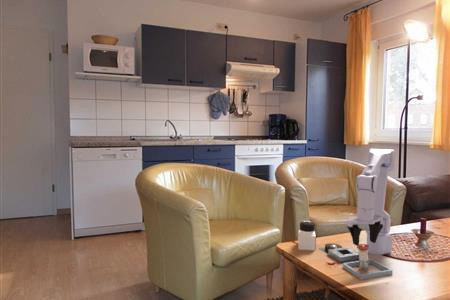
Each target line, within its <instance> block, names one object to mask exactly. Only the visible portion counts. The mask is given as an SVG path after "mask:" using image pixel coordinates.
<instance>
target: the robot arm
mask: <svg viewBox="0 0 450 300" xmlns="http://www.w3.org/2000/svg"><path fill="white" fill-rule="evenodd" d="M367 161H368V163H369V164H367V165H365V167H364V169H363V170H362V172H361V174H359V175H357V176H356V178H355V190H356V195H357V199H356V200H357V201H356V202H357V203H356V217H354V218H352V219H347V220H346V226H347V227H346V228H347V229H348V231H349V233H350V236H351V239H352V244H353V245H355V246H356V247H357V246H358V245H359V244H360V236H361V232H362V228H363V230H364V231H365V233H366V244H367V245H369V249H368V254H372V255H375V256H377V255H378V256H380V255H381V256H382V255H385V254H391V255H392V256H393V255H394V253H393V252H392V251H393V249H392V248H393V247H392V246H393V238H392V236H391V234H390V232H391V223H392V222H391V215H390V214H389V213H388V212H387V211H386V210H385V203H386V196H387V195H386V193H387V185H388V177H389V175H390V172H392V171H394V169H395V165H396V151H395V149H392V148H391V149H381V148H369V149H368V152H367ZM359 226H362V228H360V227H359Z"/></svg>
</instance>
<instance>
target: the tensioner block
mask: <svg viewBox="0 0 450 300" xmlns="http://www.w3.org/2000/svg"><path fill="white" fill-rule="evenodd" d="M318 249H319V251H322V252H324V254H326V255H328V256H330V257H331V258H333V259H334V260H335V261H337V262H339V263H340V264H343V263H348V262H355V261H359V251H357V250H355V249H353V248H352V247H349V246H346V247H343V246H342V245H340V244H338V243H330V242H329V243H326V244H325V245H324V246H323V247H318Z"/></svg>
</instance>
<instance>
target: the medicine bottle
mask: <svg viewBox="0 0 450 300" xmlns="http://www.w3.org/2000/svg"><path fill="white" fill-rule="evenodd" d="M297 233H298V236H297V239H298V240H297V241H298V242H297V244H298V245H297V246H298V250H299V251H300V250H302V251H316V247H317V236H316V231H315V223H314V222H312V221H310V220H303V221H301V222H300V223H299V230H298V231H297Z"/></svg>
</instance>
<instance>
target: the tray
mask: <svg viewBox="0 0 450 300" xmlns="http://www.w3.org/2000/svg"><path fill="white" fill-rule="evenodd" d="M371 264H372V265H374V266H375V267H377V268H379V269H381V270H380V271H372V272H366V273H361V272H359V271H357V270H355V268H353V267H359V261H355V262H348V263H342V269H345V270H346V271H348V272H349V273H350V274H353V275H354V276H356V277H357V278H358V279H360V280H368V279H372V278H373V279H374V278H380V277H385V276H391V275H393V269H391V268H389V267H388V266H387V265H384V264H382V263H380V262H378V261H377V260H375V259H373V258H368V265H371Z"/></svg>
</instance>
